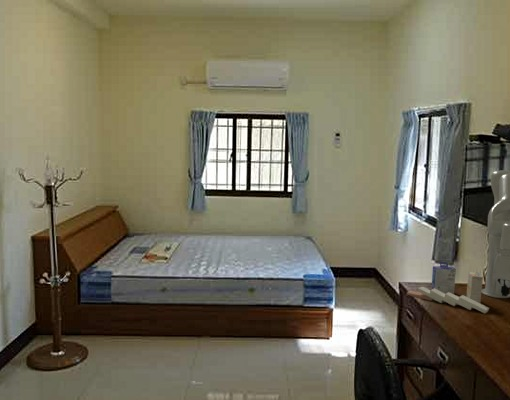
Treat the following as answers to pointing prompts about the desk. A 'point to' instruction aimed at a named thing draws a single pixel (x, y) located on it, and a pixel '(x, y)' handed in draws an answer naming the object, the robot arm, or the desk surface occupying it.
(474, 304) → the domino
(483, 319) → the desk surface
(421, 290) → the domino
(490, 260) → the robot arm
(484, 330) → the desk surface
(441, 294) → the domino
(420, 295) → the domino
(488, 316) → the desk surface
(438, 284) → the ink cartridge box
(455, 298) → the domino
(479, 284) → the supplement box
